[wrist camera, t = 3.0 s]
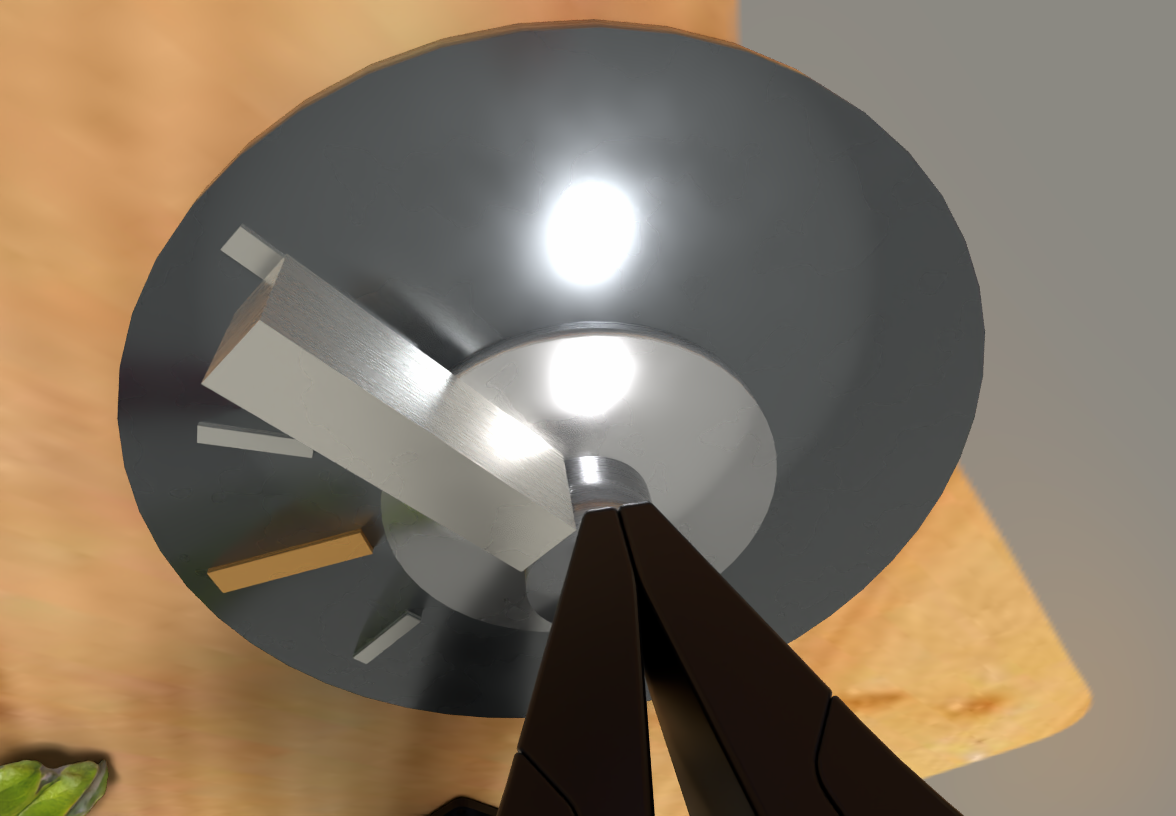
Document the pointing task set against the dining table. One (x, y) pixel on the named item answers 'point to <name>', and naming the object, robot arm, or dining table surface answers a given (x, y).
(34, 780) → the passion flower
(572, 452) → the dial
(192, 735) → the dining table surface
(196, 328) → the dial plate
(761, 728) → the robot arm
